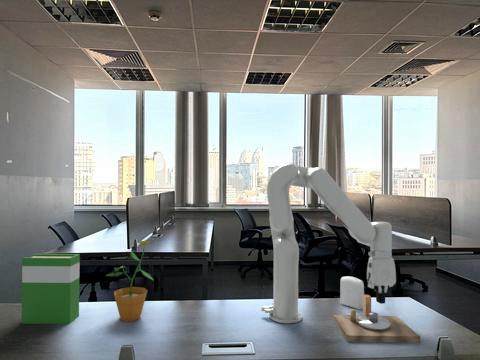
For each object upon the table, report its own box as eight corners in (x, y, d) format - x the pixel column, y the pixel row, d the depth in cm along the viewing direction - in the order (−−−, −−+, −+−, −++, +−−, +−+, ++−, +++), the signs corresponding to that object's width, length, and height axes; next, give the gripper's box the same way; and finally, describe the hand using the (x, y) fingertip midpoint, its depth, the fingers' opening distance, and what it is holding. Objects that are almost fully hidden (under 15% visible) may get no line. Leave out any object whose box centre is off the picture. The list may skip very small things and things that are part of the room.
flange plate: (395, 331, 119) (395, 307, 119) (363, 330, 120) (363, 307, 120) (380, 316, 133) (380, 294, 133) (351, 315, 133) (351, 294, 133)
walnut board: (347, 341, 116) (347, 323, 116) (333, 320, 134) (333, 304, 134) (419, 342, 116) (420, 324, 116) (396, 321, 134) (396, 305, 134)
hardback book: (21, 323, 129) (22, 257, 129) (33, 315, 136) (34, 253, 136) (69, 323, 129) (70, 258, 129) (78, 316, 136) (79, 254, 136)
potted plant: (159, 309, 144) (160, 236, 144) (145, 328, 125) (146, 244, 126) (116, 308, 145) (117, 235, 145) (96, 327, 126) (97, 243, 126)
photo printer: (338, 303, 153) (338, 275, 153) (344, 301, 155) (344, 273, 155) (359, 310, 145) (360, 280, 145) (365, 308, 147) (365, 278, 147)
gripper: (370, 257, 128) (370, 307, 128) (404, 255, 132) (404, 304, 132) (358, 253, 135) (357, 301, 135) (390, 251, 140) (390, 297, 139)
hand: (380, 302), depth 134 cm, fingers closed
